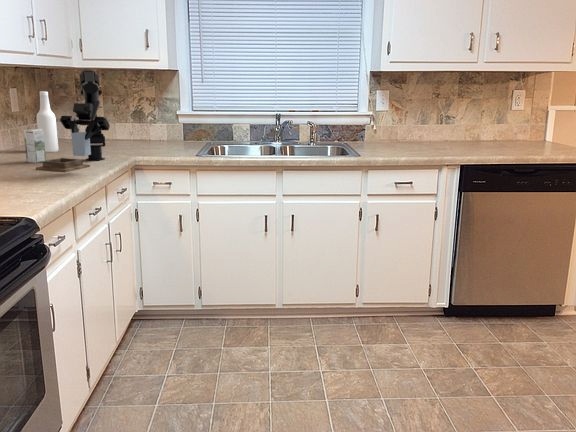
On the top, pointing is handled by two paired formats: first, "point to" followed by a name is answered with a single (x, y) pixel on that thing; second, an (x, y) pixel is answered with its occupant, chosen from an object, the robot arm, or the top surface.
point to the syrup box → (34, 145)
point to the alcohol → (47, 123)
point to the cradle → (62, 165)
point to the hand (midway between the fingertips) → (79, 139)
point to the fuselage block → (80, 144)
